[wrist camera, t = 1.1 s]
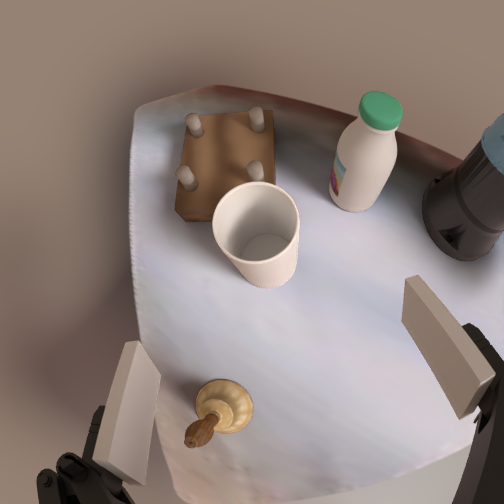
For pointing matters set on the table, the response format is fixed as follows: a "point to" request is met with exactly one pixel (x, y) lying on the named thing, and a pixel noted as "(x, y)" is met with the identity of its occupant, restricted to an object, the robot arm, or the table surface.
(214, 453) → the table surface
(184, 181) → the riser
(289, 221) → the cup
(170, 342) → the table surface
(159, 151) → the table surface
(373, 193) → the milk bottle
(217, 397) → the hand bell
